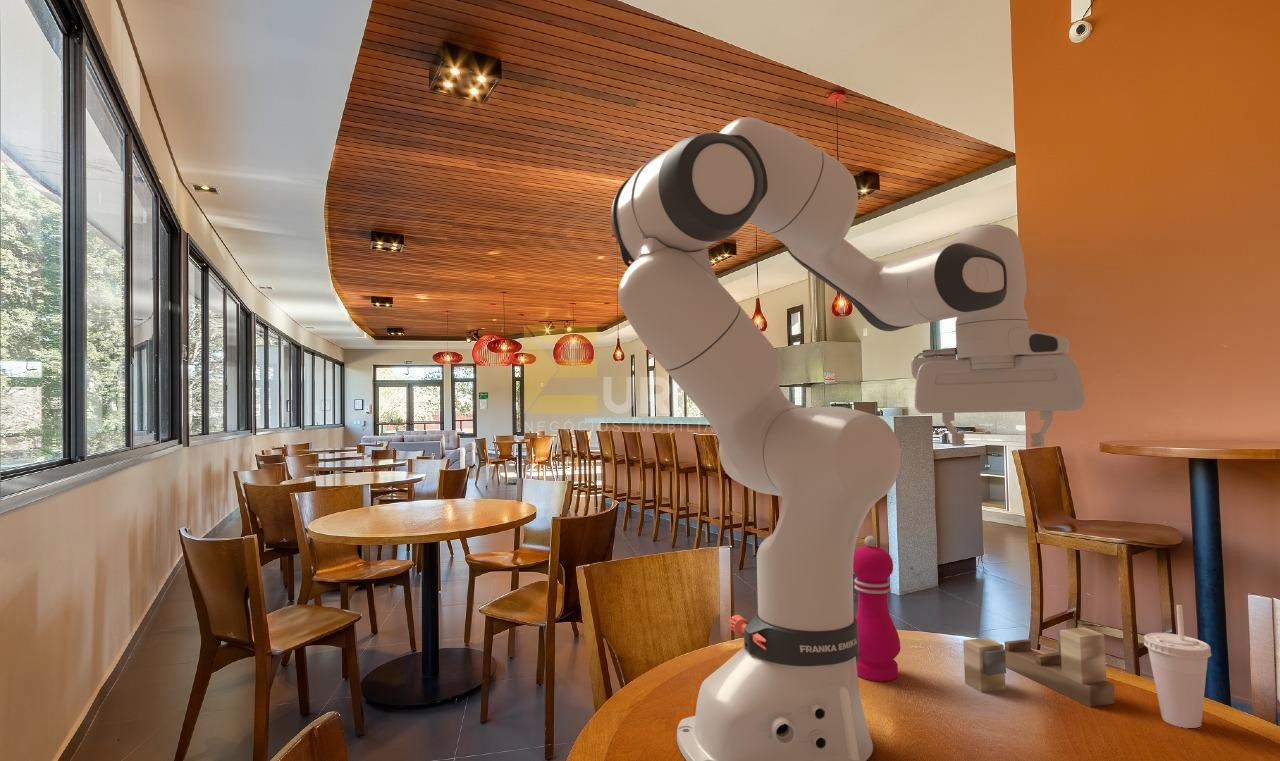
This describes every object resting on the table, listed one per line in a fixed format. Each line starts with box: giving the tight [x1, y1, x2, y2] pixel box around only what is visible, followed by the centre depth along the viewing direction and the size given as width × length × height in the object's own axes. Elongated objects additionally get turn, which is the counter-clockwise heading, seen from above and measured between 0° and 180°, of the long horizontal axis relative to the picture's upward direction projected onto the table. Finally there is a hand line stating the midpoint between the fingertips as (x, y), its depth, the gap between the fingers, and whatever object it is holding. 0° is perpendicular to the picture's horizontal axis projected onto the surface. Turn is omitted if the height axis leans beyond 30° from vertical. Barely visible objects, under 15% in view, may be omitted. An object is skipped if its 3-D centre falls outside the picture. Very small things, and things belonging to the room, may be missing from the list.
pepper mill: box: [853, 535, 902, 682], centre depth 95 cm, size 7×7×20 cm
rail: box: [1004, 626, 1116, 708], centre depth 90 cm, size 4×14×8 cm, turn 14°
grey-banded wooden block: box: [962, 637, 1007, 693], centre depth 89 cm, size 4×4×6 cm
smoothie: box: [1143, 604, 1212, 729], centre depth 79 cm, size 6×6×14 cm
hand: (997, 446), depth 87 cm, fingers open, 8 cm apart
